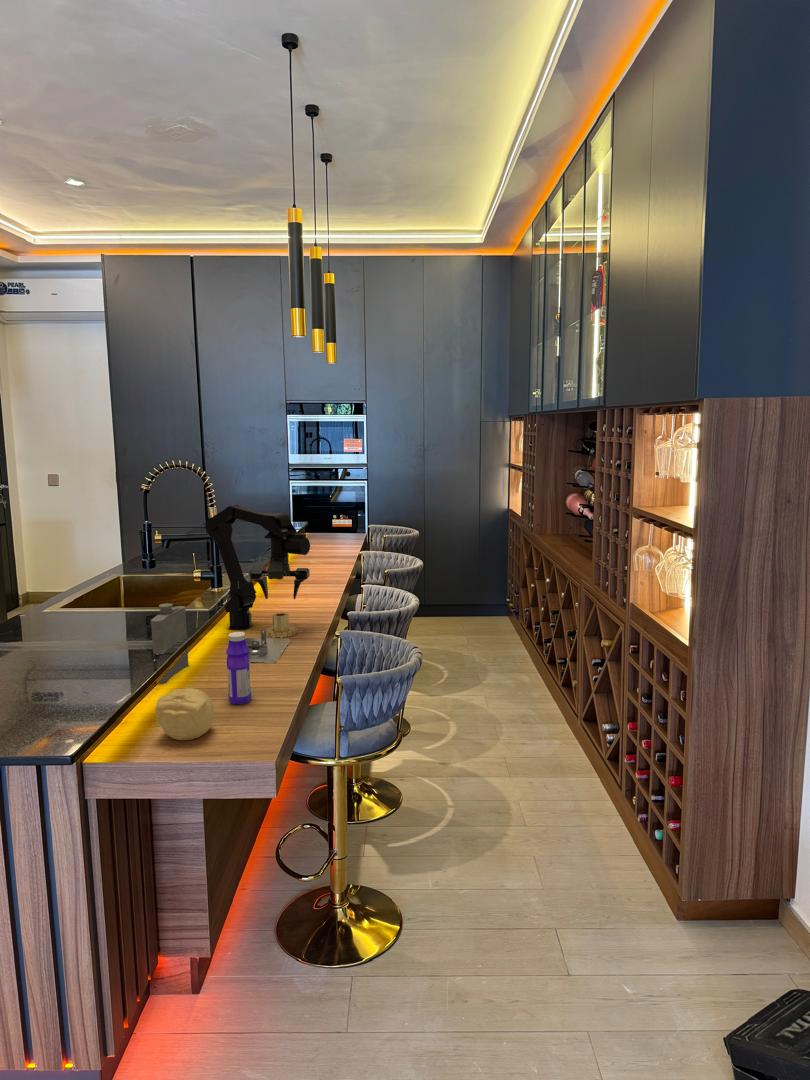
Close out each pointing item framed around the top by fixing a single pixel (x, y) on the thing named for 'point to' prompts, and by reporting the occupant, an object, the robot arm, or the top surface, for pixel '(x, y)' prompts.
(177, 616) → the hip flask
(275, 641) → the carrier plate
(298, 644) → the top surface
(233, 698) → the bottle
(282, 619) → the gear
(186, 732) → the sculpture
